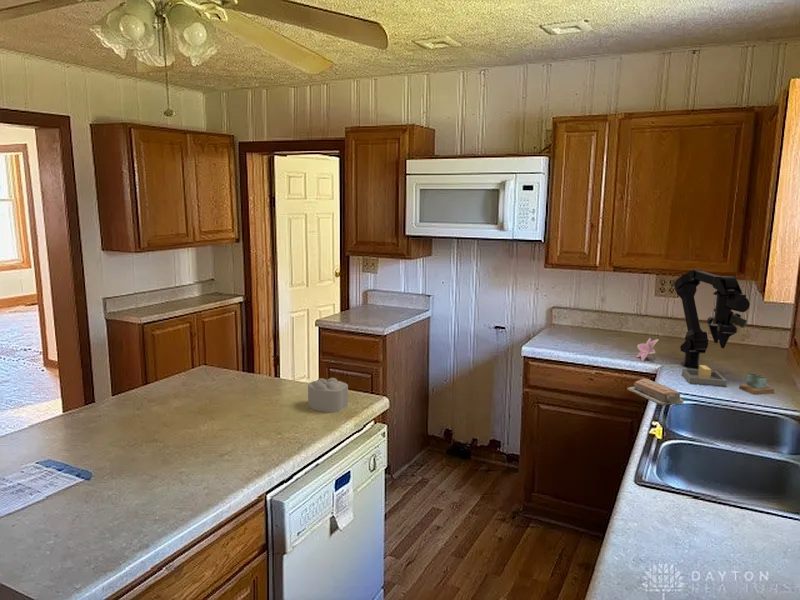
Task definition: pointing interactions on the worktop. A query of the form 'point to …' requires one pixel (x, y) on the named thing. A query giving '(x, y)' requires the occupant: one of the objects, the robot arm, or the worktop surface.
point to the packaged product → (656, 392)
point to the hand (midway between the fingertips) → (719, 345)
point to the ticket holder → (756, 384)
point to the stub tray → (714, 380)
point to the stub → (704, 372)
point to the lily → (646, 348)
